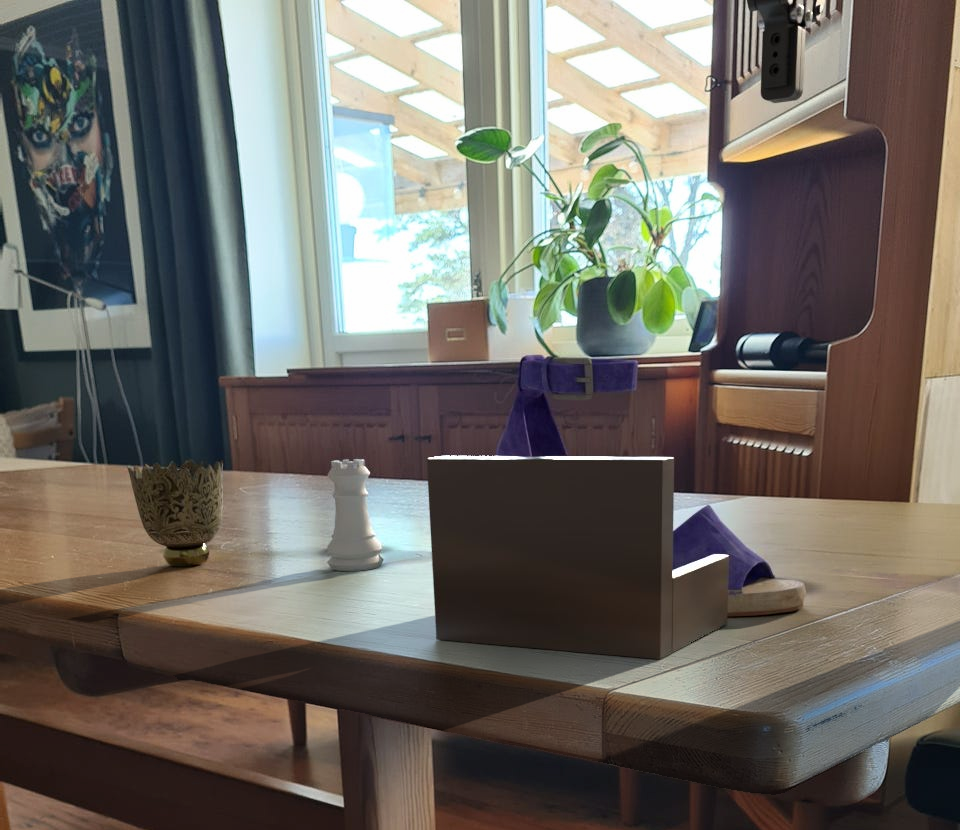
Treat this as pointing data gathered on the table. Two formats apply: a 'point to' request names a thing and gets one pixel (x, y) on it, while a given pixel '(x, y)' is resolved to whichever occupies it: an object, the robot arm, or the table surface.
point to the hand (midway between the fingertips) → (781, 99)
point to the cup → (180, 508)
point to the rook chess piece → (352, 520)
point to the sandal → (693, 539)
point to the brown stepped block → (566, 556)
